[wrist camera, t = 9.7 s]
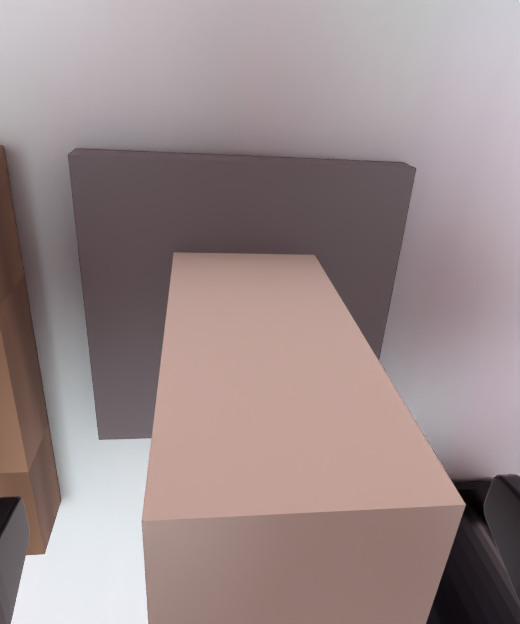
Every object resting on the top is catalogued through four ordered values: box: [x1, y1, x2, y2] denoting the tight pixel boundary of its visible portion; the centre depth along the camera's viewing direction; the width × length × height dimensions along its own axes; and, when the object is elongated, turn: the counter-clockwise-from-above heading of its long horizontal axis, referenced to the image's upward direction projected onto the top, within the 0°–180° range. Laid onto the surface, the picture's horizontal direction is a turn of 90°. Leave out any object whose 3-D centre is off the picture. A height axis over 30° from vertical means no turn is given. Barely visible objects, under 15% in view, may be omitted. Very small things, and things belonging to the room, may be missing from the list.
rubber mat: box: [68, 149, 416, 440], centre depth 17 cm, size 10×10×1 cm
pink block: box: [142, 252, 466, 624], centre depth 12 cm, size 4×4×10 cm
